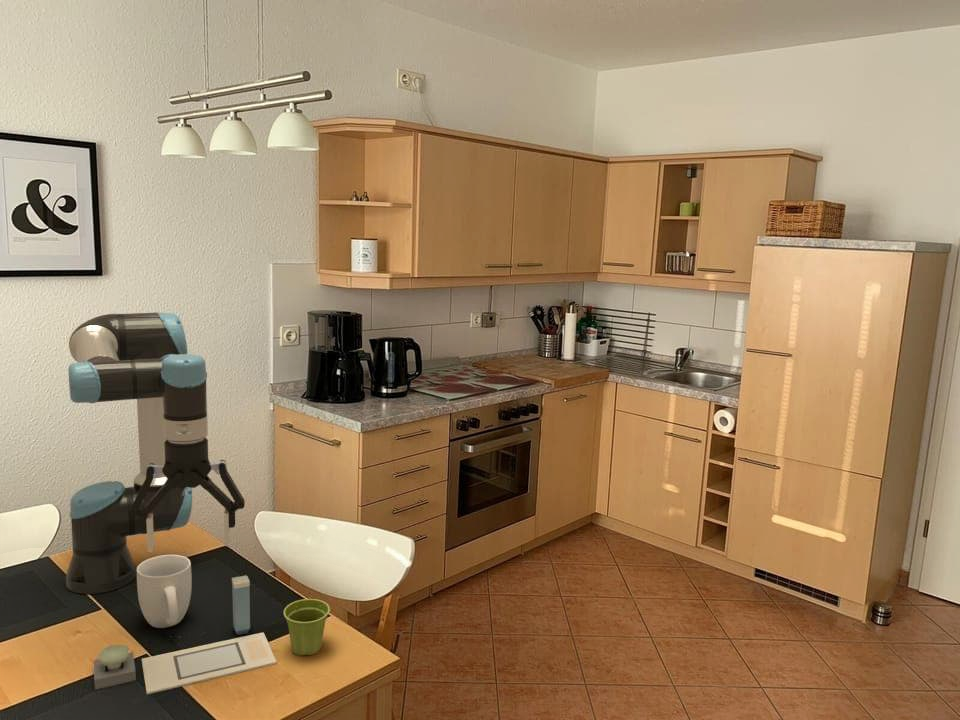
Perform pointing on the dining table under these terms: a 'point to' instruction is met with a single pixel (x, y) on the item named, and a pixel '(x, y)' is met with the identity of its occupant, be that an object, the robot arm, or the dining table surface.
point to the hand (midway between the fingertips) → (189, 546)
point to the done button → (113, 656)
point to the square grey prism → (241, 604)
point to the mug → (164, 589)
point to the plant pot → (306, 625)
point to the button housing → (114, 673)
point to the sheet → (206, 662)
